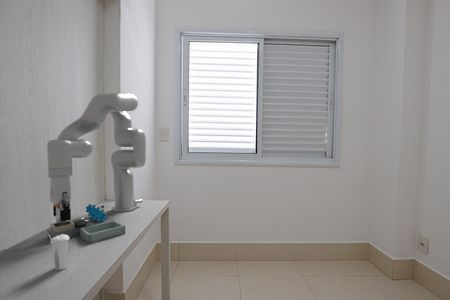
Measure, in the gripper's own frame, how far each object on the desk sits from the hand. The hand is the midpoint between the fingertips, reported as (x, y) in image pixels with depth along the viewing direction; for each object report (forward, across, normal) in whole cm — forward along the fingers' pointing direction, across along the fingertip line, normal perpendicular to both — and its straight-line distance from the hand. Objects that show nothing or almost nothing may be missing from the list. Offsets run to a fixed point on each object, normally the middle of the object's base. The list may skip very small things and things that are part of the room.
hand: (62, 217), depth 93 cm
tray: (+7, +10, +11) cm, 16 cm away
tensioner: (+7, 0, +3) cm, 8 cm away
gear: (+7, -11, +16) cm, 21 cm away
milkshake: (+7, +26, -7) cm, 28 cm away
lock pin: (+4, 0, 0) cm, 4 cm away
